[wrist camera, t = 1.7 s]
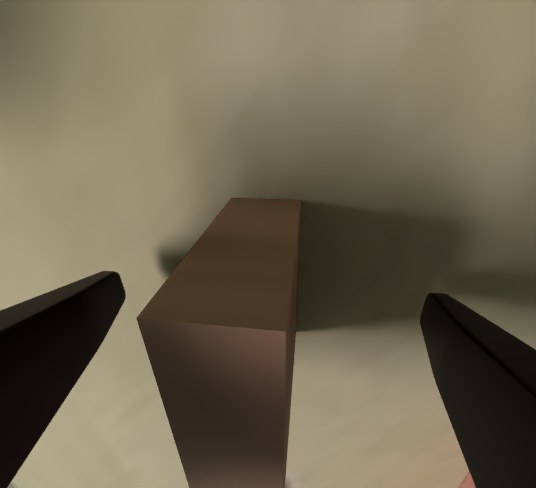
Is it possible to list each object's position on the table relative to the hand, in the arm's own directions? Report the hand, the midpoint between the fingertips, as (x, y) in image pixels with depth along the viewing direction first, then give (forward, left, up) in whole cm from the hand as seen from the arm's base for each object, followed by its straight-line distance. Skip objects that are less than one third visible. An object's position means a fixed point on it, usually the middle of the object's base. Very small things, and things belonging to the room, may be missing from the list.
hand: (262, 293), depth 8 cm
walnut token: (0, 0, -1) cm, 1 cm away
